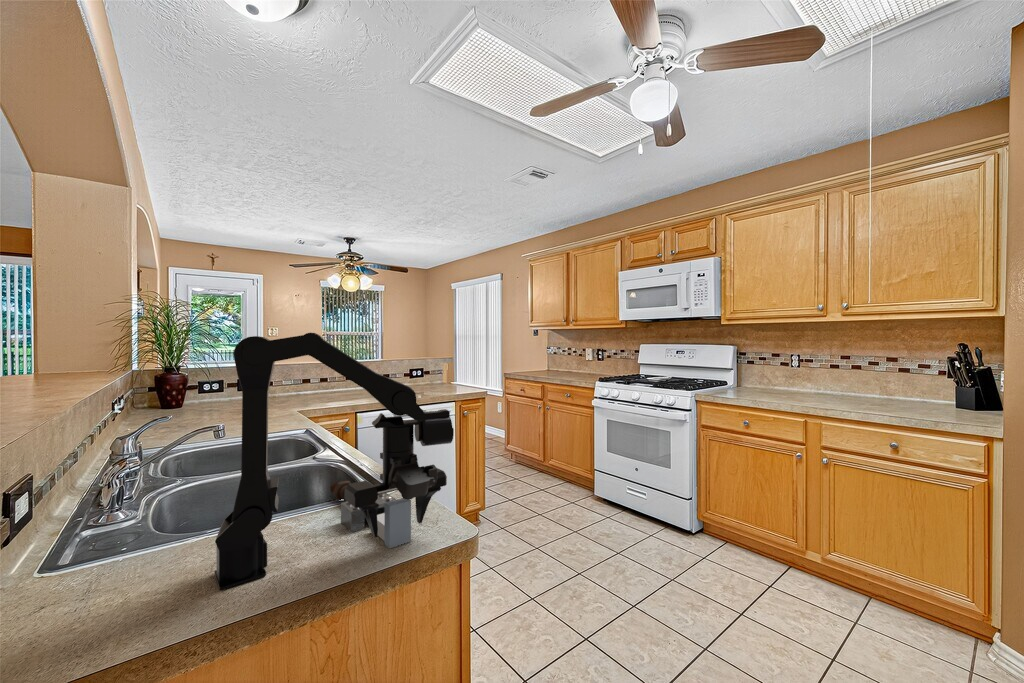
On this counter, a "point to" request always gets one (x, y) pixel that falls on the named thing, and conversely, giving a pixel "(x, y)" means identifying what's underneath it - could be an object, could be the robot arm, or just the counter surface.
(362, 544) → the counter surface
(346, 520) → the housing
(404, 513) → the handle
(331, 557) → the counter surface
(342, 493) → the brown lumpy shape
